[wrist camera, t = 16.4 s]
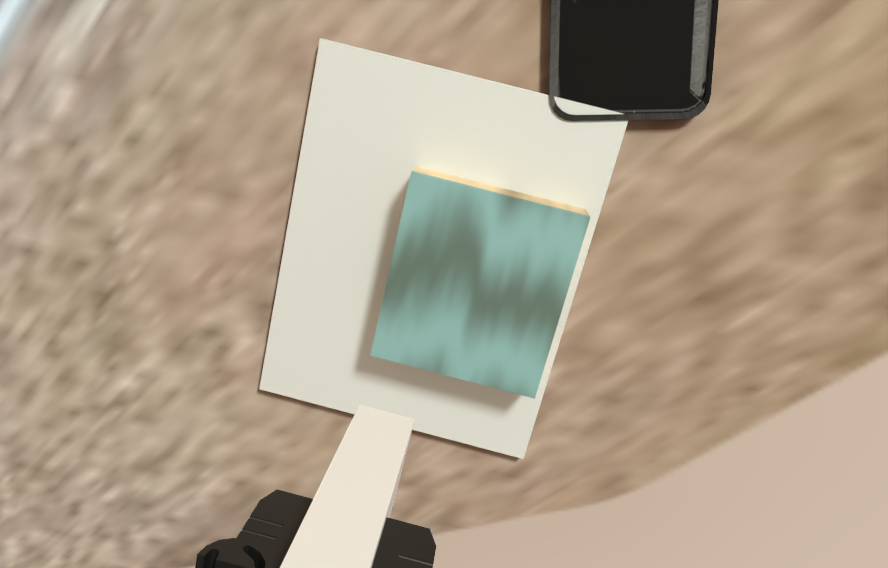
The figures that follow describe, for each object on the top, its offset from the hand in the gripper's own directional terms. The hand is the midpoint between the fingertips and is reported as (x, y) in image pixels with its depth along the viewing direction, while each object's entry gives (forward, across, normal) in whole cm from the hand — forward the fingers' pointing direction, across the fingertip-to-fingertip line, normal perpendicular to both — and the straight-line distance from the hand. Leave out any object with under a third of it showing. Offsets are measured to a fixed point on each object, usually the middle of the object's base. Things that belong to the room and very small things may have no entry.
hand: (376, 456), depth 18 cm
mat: (+20, -1, 0) cm, 20 cm away
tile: (+19, -3, 0) cm, 19 cm away
